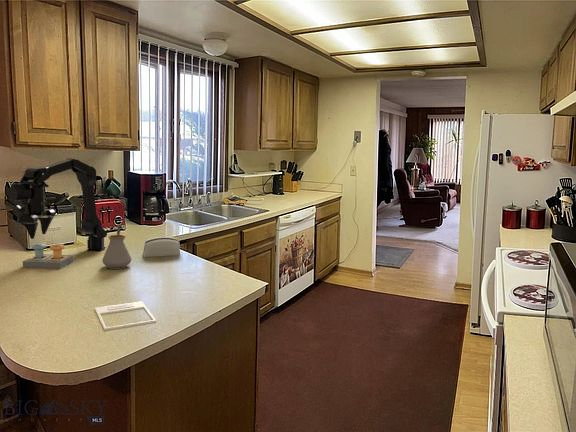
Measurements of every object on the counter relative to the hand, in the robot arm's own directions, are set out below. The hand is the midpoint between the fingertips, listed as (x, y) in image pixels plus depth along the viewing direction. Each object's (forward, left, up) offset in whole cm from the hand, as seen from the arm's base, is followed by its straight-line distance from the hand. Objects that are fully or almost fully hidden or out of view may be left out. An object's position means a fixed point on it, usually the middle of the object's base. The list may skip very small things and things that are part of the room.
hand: (38, 236), depth 192 cm
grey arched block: (-45, -21, -12) cm, 51 cm away
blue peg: (0, 0, -12) cm, 12 cm away
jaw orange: (-8, 0, -12) cm, 14 cm away
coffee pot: (-31, -5, -12) cm, 33 cm away
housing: (-4, 0, -12) cm, 12 cm away
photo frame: (-53, +52, -12) cm, 75 cm away
